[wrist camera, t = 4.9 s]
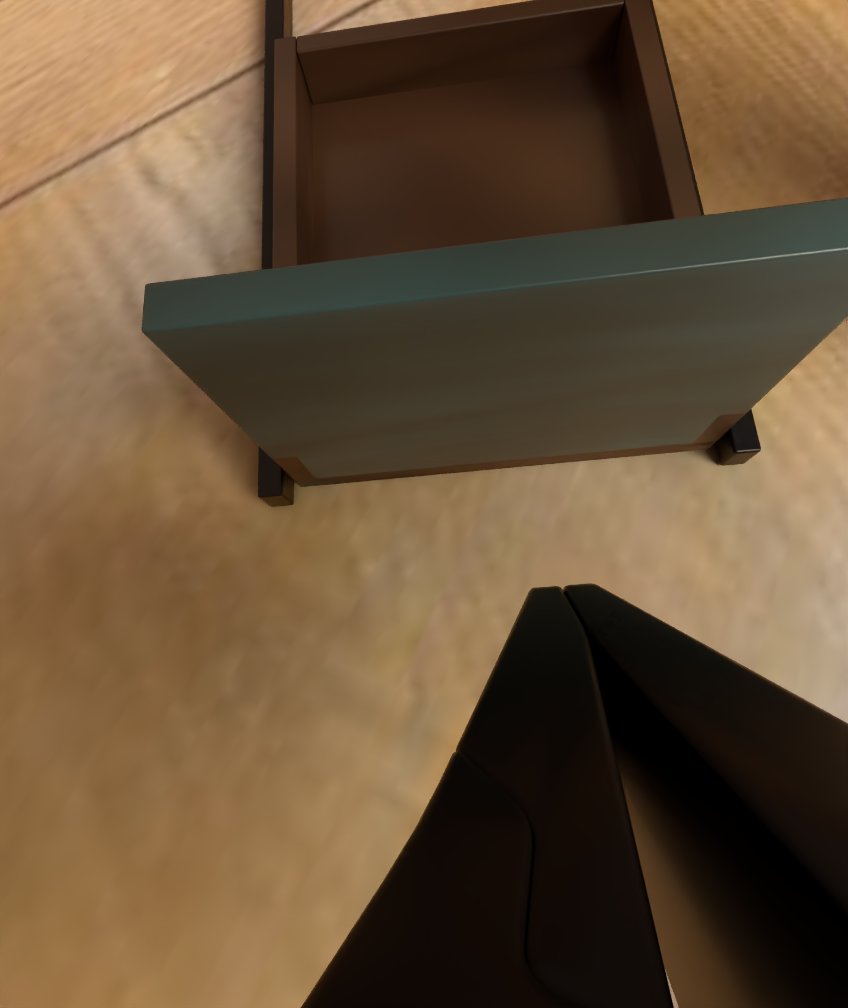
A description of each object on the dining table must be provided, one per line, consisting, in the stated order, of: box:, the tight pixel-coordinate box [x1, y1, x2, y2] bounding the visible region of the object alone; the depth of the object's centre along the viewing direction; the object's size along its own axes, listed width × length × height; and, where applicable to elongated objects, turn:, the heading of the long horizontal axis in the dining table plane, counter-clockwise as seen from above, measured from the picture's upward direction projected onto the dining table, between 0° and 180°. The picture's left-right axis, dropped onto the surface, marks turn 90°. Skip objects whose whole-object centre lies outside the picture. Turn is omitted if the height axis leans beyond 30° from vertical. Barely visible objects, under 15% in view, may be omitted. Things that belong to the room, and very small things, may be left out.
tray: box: [142, 0, 848, 487], centre depth 16 cm, size 16×13×9 cm
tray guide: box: [258, 0, 761, 507], centre depth 21 cm, size 24×15×1 cm, turn 4°
